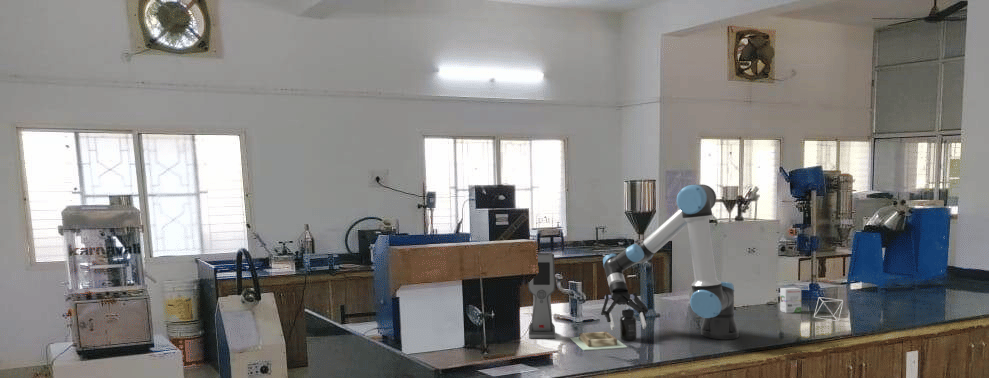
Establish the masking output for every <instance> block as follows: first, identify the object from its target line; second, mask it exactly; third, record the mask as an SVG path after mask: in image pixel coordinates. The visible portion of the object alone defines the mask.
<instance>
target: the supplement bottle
mask: <svg viewBox="0 0 989 378" xmlns="http://www.w3.org/2000/svg"><path fill="white" fill-rule="evenodd" d="M634 315H635V314H634V309H622V310H621V316H620V318H619V338H620V340H622V341H626V342H633V341H636V340H637V338H638V335H637V333H638V332H637V318H636V317H635V316H634Z"/></svg>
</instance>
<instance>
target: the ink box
mask: <svg viewBox="0 0 989 378" xmlns="http://www.w3.org/2000/svg"><path fill="white" fill-rule="evenodd" d="M779 289H780V290H779V291H780V292H779V296H780V297H779V300H780V301H779V302H780V303H779V304H780V305H779V307H780V312H782V313H785V314H791V313H802V289H801V288H799V287H798V288H797V287H780V288H779Z"/></svg>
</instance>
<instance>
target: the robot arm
mask: <svg viewBox="0 0 989 378" xmlns="http://www.w3.org/2000/svg"><path fill="white" fill-rule="evenodd" d="M716 203H717V194H716V192H715V190H714V189H713V188H712V186H709V185H707V184H689V185H686V186H684V187H683V188H681V189H680V190H679V191H678V193H677V196H676V205H677V207H678V209H677V210H676V211H675V212H674V213H673V214H672V215H670V217H669V218H667V220H665V221H664V222H663V223H662V224H660V226H658V227H657V228H656V229H655V230H654V231H653V232H651V233H650V235H648V236H647V237H646V238H645V239H644V240H642V241H641V242H640V244H638V243H637V244H636V243H633V244H631V245H629V246H627V248H625V249H624V250H622V251H621V252H620V253H619V252H618V254H616V253H610V254H606V255H605V256H603V258H602V263H603V264H602V265H603V269H604V272H605V276H606V279H607V284H608V287H609V292H610V294H609V293H605V295H604V303H603V306H602V309H601V313H600V315H601V316H604V317H605V318H606V322H607V323H609V326H610V329H611V331H614V329H615V323H614V318H613V315H612V311H613V309H614V307H616V305H618V306H621V305H623V306H624V305H625V306H628V307H630V308H631V309H632V310H633V311H634V310H635V312H637V313H639V314H638V315H639V320H640V322H641V327H642V329H643V330H646V327H647V323H646V322H647V321H646V320H647V315H646V314H648V312H649V308H648V307H647V306H646V304H644V303H643V301H642V300H641V299H640V298H639V297H638V295H637V293H636V292H633V293H632V294H630V293H629V290H628V285H627V282H626V279H625V276H624V271H626V270H627V269H629V268H631V267H632V266H634V265H636V264H640V263H644V262H645V263H646V262H648V261H649V260H652V258H653V256H654V255H655V254H656V253H657V252H658V251H659V250H661V248H663V247H664V246H665V245H667V244H668V242H669V241H671V240H672V239H674V237H676V236H677V235H678V234H679V233H680V232H681V231H682V230H684V229H685V228H686V227H687V233H688V239H689V240H688V241H689V247H690V248H689V249H690V254H691V261H692V262H691V263H692V269H693V270H692V271H693V277H694V281H693V282H692V283H691V292H692V294H691V296H690V298H689V299H690V300H689V305H690V307H691V310H692V312H693V313H694V314H696V315H697V316H698V317H701V318H703V321H702V324H701V327H700V335H701V336H703V337H705V338H710V339H714V340H734V339H735V340H736V339H737V338H739V329H738V326H737V323H736V320H735V288H734V287H735V286H734V283H733V282H729V281H721V280H719V279H718V277H717V270H716V263H715V257H714V256H715V254H714V247H713V242H712V241H713V240H712V234H711V233H712V232H711V226H710V219H711V218H712V217H713V212H712V209H713V208H714V207H715V205H716ZM610 300H612V301H613V302H612V303H611V304H610V306H609V307H608V308H607V306H608V302H609V301H610ZM606 309H607V310H606Z"/></svg>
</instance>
